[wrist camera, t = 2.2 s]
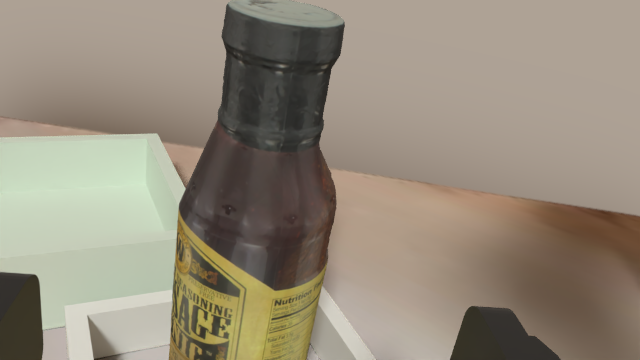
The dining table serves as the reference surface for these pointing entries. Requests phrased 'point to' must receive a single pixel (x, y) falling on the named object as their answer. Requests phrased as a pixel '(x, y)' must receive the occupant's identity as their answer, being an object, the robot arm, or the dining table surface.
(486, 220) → the dining table surface
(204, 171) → the sauce bottle
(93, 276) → the sage bin
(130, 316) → the off-white frame
